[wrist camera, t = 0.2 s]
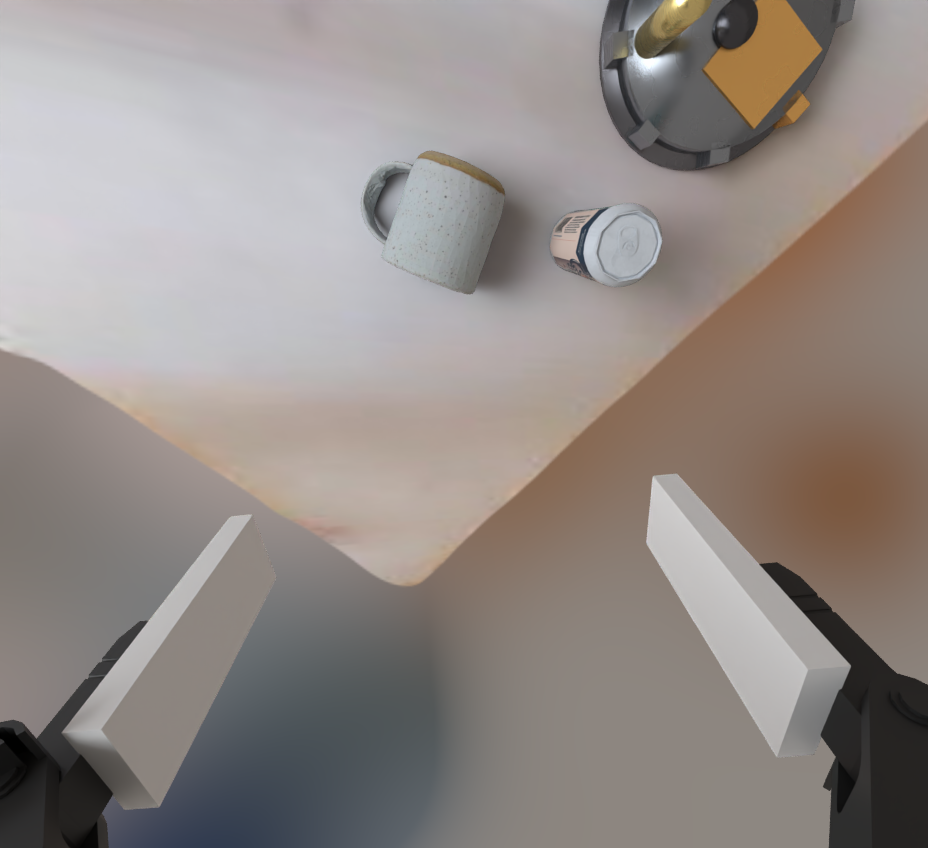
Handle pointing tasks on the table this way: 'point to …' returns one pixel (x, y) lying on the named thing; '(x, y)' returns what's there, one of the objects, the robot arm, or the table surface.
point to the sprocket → (718, 68)
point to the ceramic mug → (438, 219)
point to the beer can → (608, 243)
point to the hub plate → (625, 120)
